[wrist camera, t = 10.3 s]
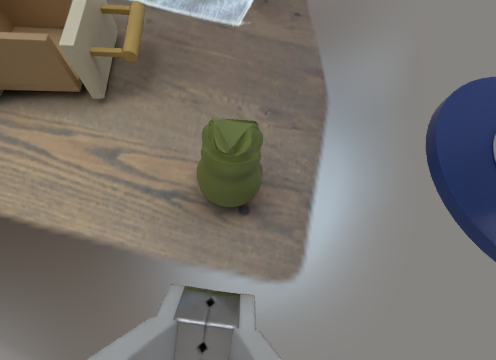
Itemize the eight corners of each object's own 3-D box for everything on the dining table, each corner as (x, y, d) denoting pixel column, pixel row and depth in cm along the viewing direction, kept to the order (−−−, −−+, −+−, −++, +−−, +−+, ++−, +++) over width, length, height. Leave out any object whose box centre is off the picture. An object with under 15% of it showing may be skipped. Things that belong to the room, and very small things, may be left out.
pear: (197, 211, 26) (183, 163, 17) (204, 161, 28) (195, 95, 19) (255, 216, 26) (273, 171, 17) (258, 166, 29) (275, 103, 19)
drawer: (155, 32, 34) (140, -28, 28) (146, 99, 30) (126, 47, 24) (16, 26, 32) (-32, -39, 26) (-13, 96, 28) (-78, 39, 22)
